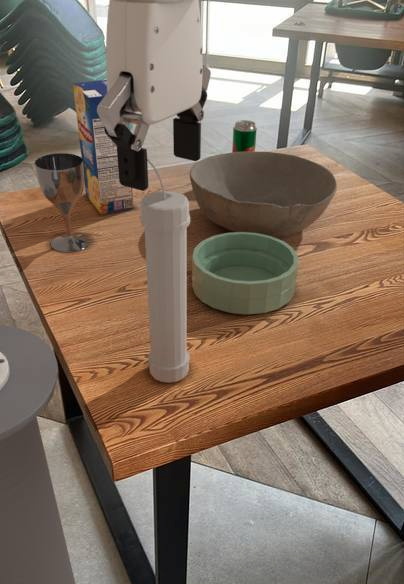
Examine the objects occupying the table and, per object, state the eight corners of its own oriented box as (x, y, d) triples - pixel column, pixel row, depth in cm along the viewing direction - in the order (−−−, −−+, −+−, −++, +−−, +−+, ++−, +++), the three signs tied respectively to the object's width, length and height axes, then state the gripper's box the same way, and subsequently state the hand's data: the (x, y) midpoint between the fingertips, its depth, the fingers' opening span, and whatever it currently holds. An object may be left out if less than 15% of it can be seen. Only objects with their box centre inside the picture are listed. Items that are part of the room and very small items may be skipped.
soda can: (241, 183, 128) (245, 128, 121) (226, 176, 131) (228, 122, 124) (257, 178, 131) (261, 123, 123) (242, 171, 134) (245, 118, 126)
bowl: (190, 255, 102) (190, 202, 96) (188, 193, 124) (188, 146, 117) (342, 255, 103) (353, 202, 97) (314, 193, 125) (321, 147, 118)
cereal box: (101, 214, 115) (89, 97, 101) (85, 194, 122) (72, 83, 108) (133, 209, 117) (126, 93, 103) (116, 189, 125) (107, 79, 111)
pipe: (189, 385, 75) (189, 155, 56) (141, 384, 75) (126, 154, 56) (190, 358, 79) (191, 137, 60) (145, 357, 79) (132, 136, 60)
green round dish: (224, 328, 85) (226, 294, 81) (175, 277, 96) (174, 244, 92) (314, 300, 91) (320, 267, 87) (258, 255, 102) (260, 224, 99)
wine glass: (63, 229, 109) (51, 150, 100) (100, 237, 107) (91, 157, 97) (39, 248, 103) (24, 165, 94) (78, 256, 101) (66, 173, 92)
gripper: (175, -33, 57) (177, 142, 67) (54, -18, 45) (79, 191, 56) (242, -28, 54) (232, 155, 64) (130, -10, 42) (142, 209, 53)
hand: (161, 171), depth 60 cm, fingers open, 9 cm apart
